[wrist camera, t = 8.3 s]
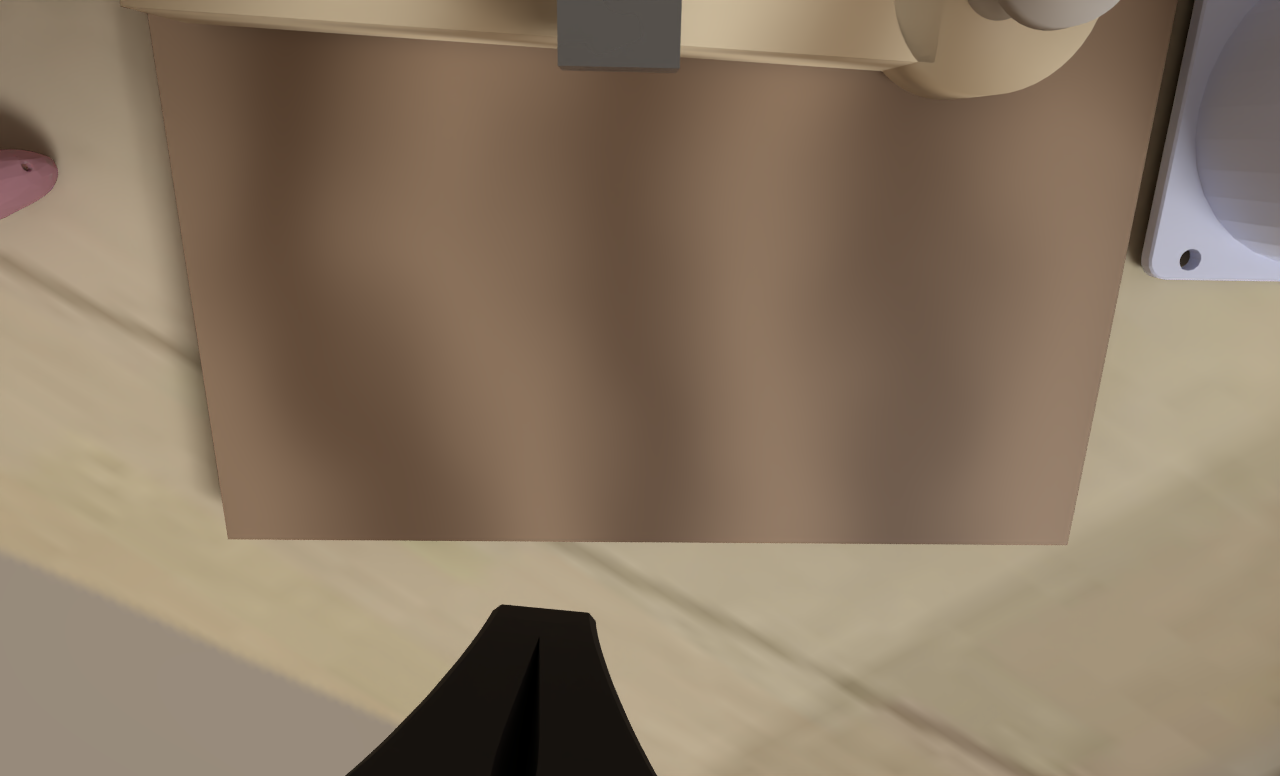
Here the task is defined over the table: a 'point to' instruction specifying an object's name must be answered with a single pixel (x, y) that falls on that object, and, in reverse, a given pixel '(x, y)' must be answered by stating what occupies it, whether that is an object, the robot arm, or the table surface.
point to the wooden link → (735, 32)
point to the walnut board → (648, 288)
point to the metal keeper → (619, 35)
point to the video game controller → (24, 179)
